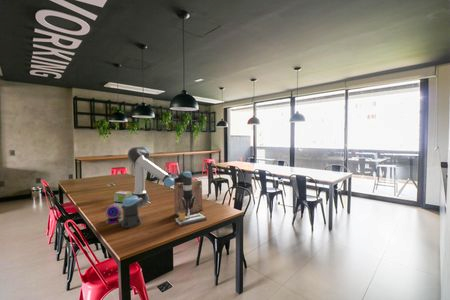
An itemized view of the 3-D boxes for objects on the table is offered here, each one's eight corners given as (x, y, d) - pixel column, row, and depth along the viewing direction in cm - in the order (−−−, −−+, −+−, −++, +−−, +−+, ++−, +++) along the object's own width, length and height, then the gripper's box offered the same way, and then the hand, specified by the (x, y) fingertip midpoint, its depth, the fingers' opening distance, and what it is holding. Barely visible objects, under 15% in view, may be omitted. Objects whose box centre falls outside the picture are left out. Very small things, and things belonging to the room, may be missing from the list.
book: (197, 208, 220) (196, 179, 219) (202, 210, 213) (201, 180, 212) (174, 214, 204) (173, 182, 202) (179, 216, 197) (178, 184, 195)
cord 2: (180, 225, 177) (180, 223, 177) (205, 219, 189) (205, 217, 189) (181, 226, 175) (181, 224, 175) (206, 219, 188) (206, 218, 188)
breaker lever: (178, 219, 185) (178, 211, 184) (183, 218, 187) (183, 210, 187) (180, 220, 181) (180, 212, 181) (185, 219, 184) (184, 211, 183)
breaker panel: (175, 220, 187) (175, 218, 187) (199, 215, 199) (199, 213, 199) (180, 225, 178) (180, 222, 178) (205, 219, 190) (205, 216, 190)
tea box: (114, 206, 231) (113, 192, 230) (121, 203, 241) (120, 190, 240) (125, 207, 227) (125, 193, 226) (132, 204, 236) (131, 191, 235)
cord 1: (174, 219, 190) (174, 217, 190) (197, 214, 203) (197, 212, 202) (174, 220, 189) (174, 218, 189) (198, 214, 201) (198, 213, 201)
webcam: (104, 224, 182) (103, 207, 181) (108, 219, 194) (107, 202, 193) (121, 222, 185) (120, 205, 185) (123, 217, 198) (123, 201, 197)
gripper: (182, 191, 179) (183, 219, 180) (196, 189, 186) (197, 216, 187) (178, 189, 186) (179, 216, 187) (192, 187, 192) (193, 213, 194)
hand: (188, 216), depth 187 cm, fingers closed
